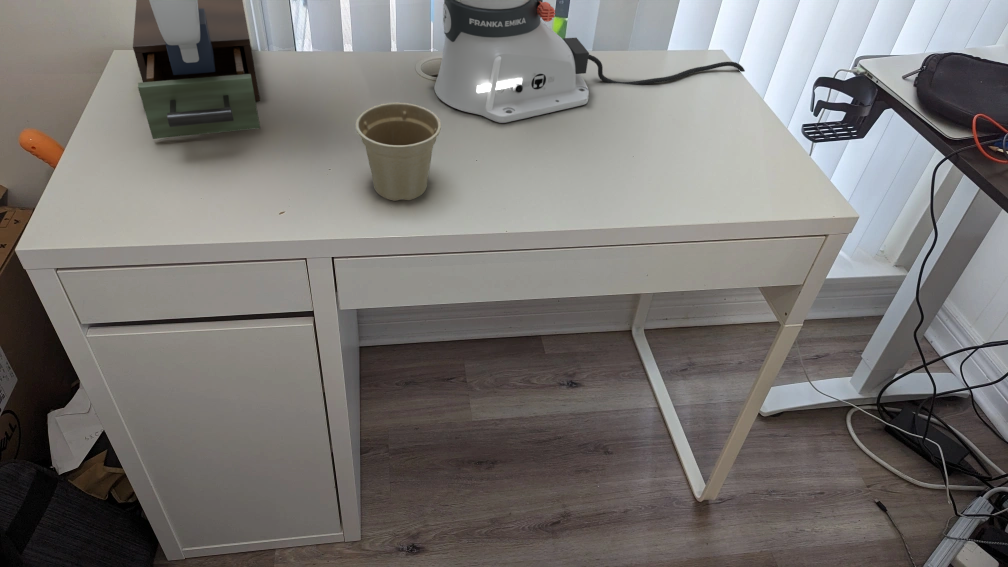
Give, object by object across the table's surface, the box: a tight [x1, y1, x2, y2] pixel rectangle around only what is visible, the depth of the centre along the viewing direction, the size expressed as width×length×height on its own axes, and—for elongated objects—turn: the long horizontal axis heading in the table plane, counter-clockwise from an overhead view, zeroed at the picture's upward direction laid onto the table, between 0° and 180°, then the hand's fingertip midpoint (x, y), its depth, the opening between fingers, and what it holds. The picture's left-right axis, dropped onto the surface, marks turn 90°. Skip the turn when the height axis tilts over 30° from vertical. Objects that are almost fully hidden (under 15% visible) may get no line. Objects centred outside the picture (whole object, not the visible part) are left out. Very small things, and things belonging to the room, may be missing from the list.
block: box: [165, 8, 215, 75], centre depth 87 cm, size 5×5×6 cm
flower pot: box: [355, 102, 442, 202], centre depth 83 cm, size 9×9×9 cm
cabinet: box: [132, 0, 261, 102], centre depth 99 cm, size 16×14×9 cm
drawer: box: [137, 46, 261, 140], centre depth 91 cm, size 20×13×7 cm, turn 19°
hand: (191, 48), depth 88 cm, fingers closed on block, 5 cm apart
